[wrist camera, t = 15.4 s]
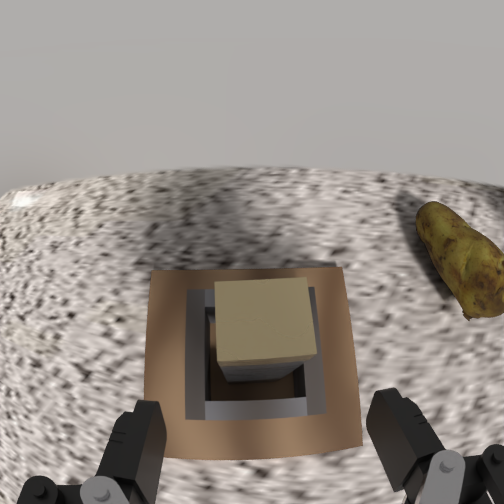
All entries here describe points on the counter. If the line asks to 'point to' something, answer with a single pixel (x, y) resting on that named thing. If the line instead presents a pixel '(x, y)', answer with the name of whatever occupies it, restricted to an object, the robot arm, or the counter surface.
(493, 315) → the potato
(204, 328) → the well board
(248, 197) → the counter surface
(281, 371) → the tall square pillar
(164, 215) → the counter surface
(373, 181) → the counter surface
